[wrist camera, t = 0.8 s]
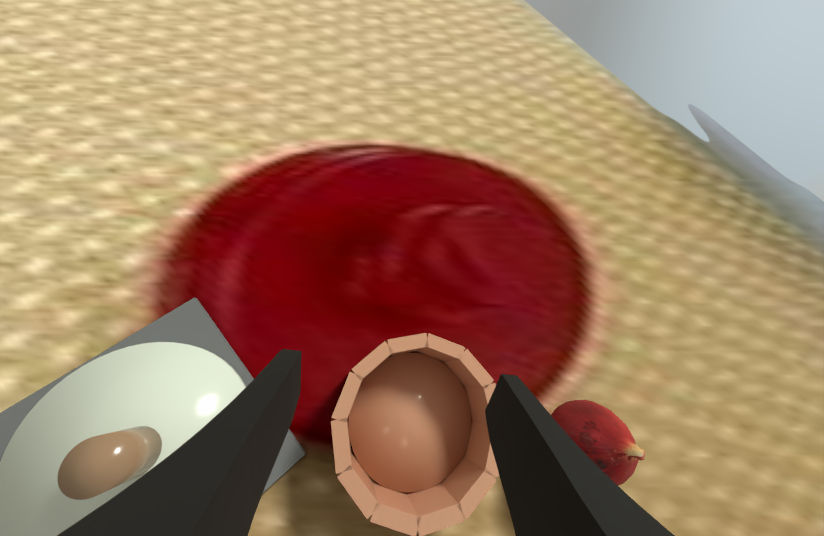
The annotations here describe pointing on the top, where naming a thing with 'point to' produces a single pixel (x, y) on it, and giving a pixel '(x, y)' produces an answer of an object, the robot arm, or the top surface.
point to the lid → (107, 431)
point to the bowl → (415, 434)
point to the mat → (175, 326)
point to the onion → (600, 437)
